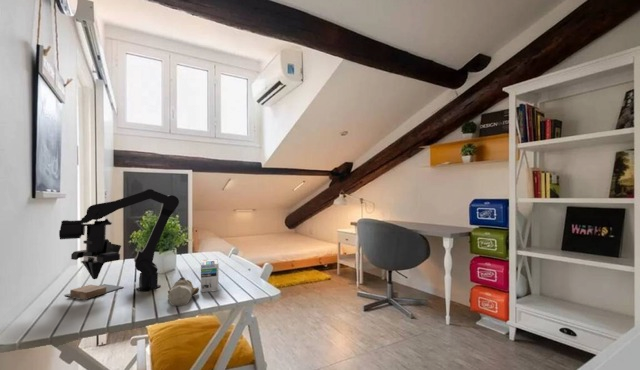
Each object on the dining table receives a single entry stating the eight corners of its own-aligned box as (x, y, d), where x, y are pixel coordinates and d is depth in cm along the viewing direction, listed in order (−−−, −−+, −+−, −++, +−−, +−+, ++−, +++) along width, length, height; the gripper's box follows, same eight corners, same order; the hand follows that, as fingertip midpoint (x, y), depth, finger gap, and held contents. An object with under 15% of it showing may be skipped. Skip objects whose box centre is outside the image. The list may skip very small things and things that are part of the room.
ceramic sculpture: (161, 282, 96) (170, 274, 111) (160, 309, 95) (169, 297, 110) (195, 280, 99) (200, 272, 114) (195, 306, 98) (200, 295, 113)
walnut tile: (106, 287, 112) (90, 284, 115) (86, 292, 105) (70, 289, 108) (106, 292, 112) (90, 290, 115) (86, 298, 105) (70, 295, 108)
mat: (123, 287, 119) (123, 286, 119) (84, 299, 105) (84, 298, 105) (104, 284, 123) (104, 283, 123) (64, 296, 109) (64, 294, 109)
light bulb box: (218, 290, 115) (218, 263, 116) (200, 293, 113) (200, 265, 113) (217, 283, 125) (217, 258, 125) (200, 285, 123) (201, 259, 123)
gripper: (134, 235, 114) (133, 275, 113) (101, 233, 120) (100, 271, 120) (104, 239, 103) (103, 283, 103) (70, 237, 110) (69, 278, 109)
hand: (95, 278), depth 109 cm, fingers closed
